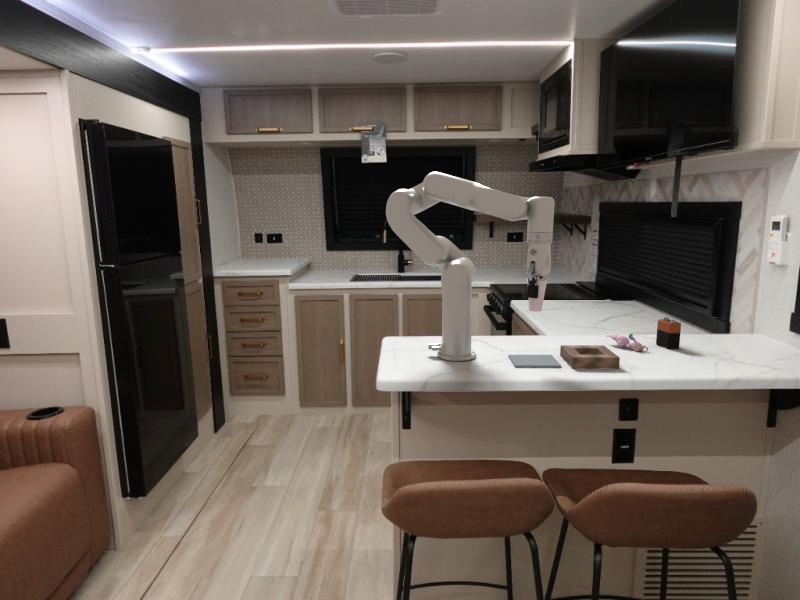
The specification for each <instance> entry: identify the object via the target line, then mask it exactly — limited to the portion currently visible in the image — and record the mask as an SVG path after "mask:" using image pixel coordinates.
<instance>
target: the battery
mask: <svg viewBox="0 0 800 600" xmlns="http://www.w3.org/2000/svg"><path fill="white" fill-rule="evenodd" d="M681 330H682V322H679V321H677V319H671V318H670V317H667V316H663V317H662V318H661V319H658V320H657V327H656V337H655V338H656V341H655V344H656V345H657V346H659V347H661V348H664V347H665V349H667V350H674V349H680V343H681V342H680V341H681Z"/></svg>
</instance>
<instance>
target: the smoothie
mask: <svg viewBox="0 0 800 600" xmlns="http://www.w3.org/2000/svg"><path fill="white" fill-rule="evenodd" d="M534 278H535V277H534ZM535 280H536V278H535ZM526 284H527V285H528V278H526ZM547 284H548V279H547V278H546V279H541V278H539V279H538V285H539V289H538V298H537V299H536V298H528V297H527V298H528V310H529V312H538V313H539V312H542V309H543V305H544V304H543V303H544V301H545V300H544V299H545V295H546V289H547Z"/></svg>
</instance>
